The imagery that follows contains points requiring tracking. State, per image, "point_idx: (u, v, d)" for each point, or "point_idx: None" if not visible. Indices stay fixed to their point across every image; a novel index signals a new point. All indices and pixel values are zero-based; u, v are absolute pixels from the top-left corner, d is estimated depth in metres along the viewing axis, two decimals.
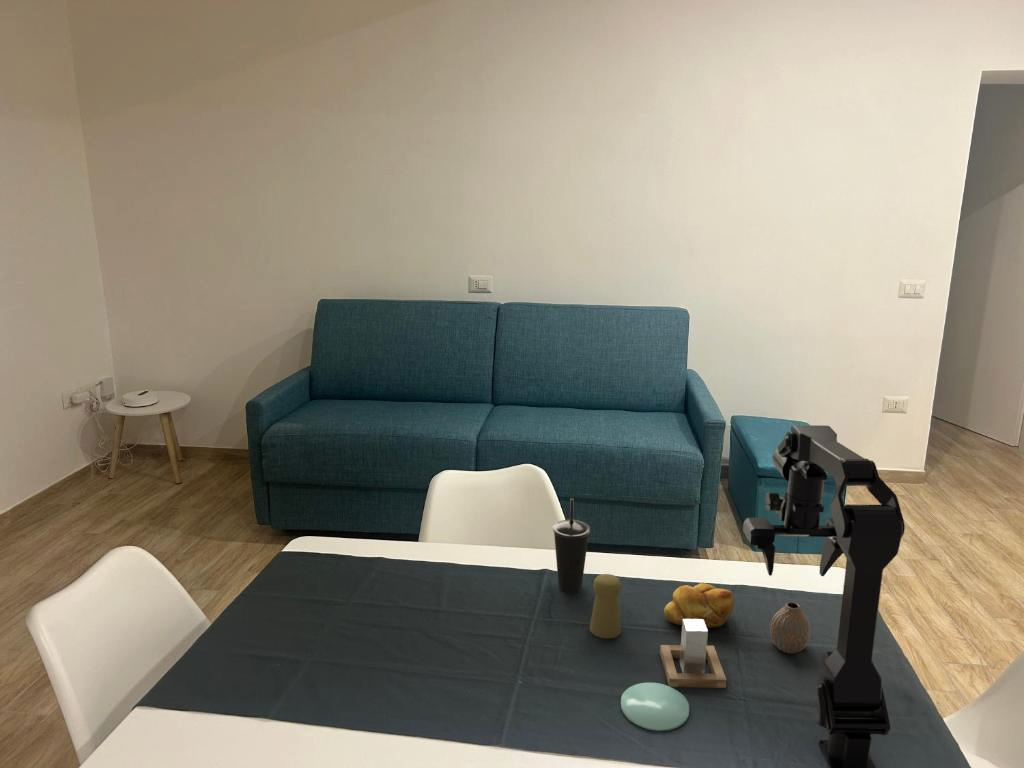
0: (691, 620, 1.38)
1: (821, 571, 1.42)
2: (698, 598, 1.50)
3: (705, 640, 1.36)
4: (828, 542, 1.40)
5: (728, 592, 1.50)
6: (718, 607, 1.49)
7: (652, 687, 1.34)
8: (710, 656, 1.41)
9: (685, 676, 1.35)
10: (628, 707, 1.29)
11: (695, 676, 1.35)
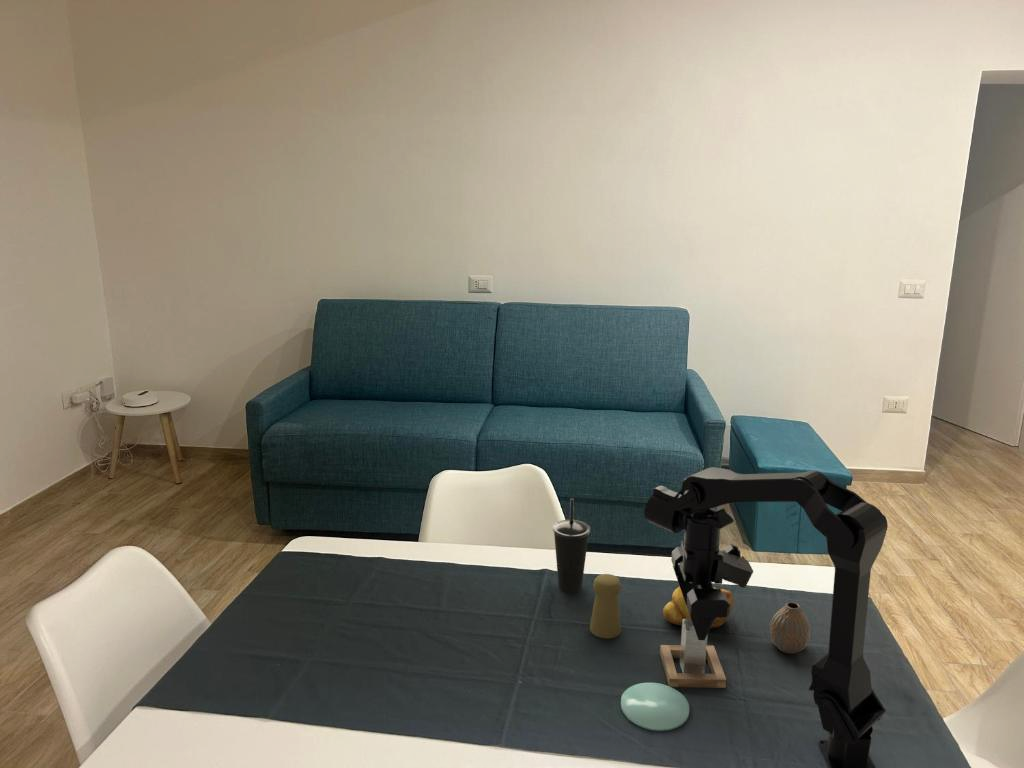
0: (691, 620, 1.38)
1: None
2: None
3: (705, 640, 1.36)
4: None
5: (727, 592, 1.50)
6: None
7: (652, 687, 1.34)
8: (710, 656, 1.41)
9: (685, 676, 1.35)
10: (628, 707, 1.29)
11: (695, 676, 1.35)
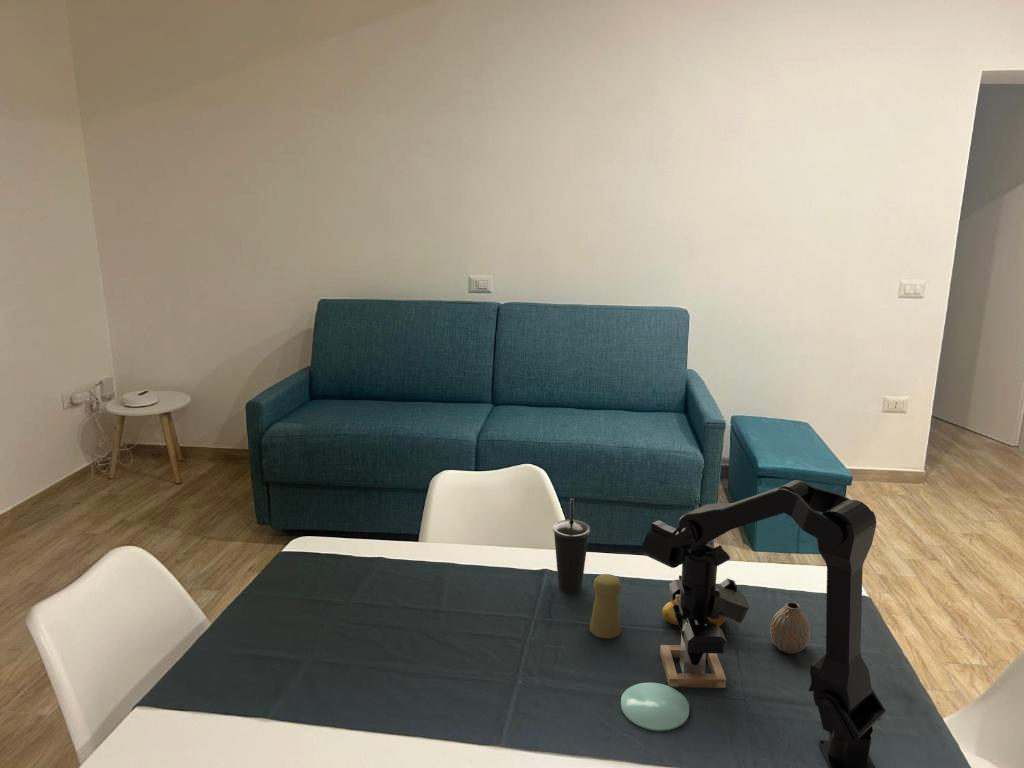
0: None
1: None
2: None
3: None
4: None
5: None
6: None
7: (652, 687, 1.34)
8: (710, 656, 1.41)
9: (685, 676, 1.35)
10: (628, 707, 1.29)
11: (695, 676, 1.35)
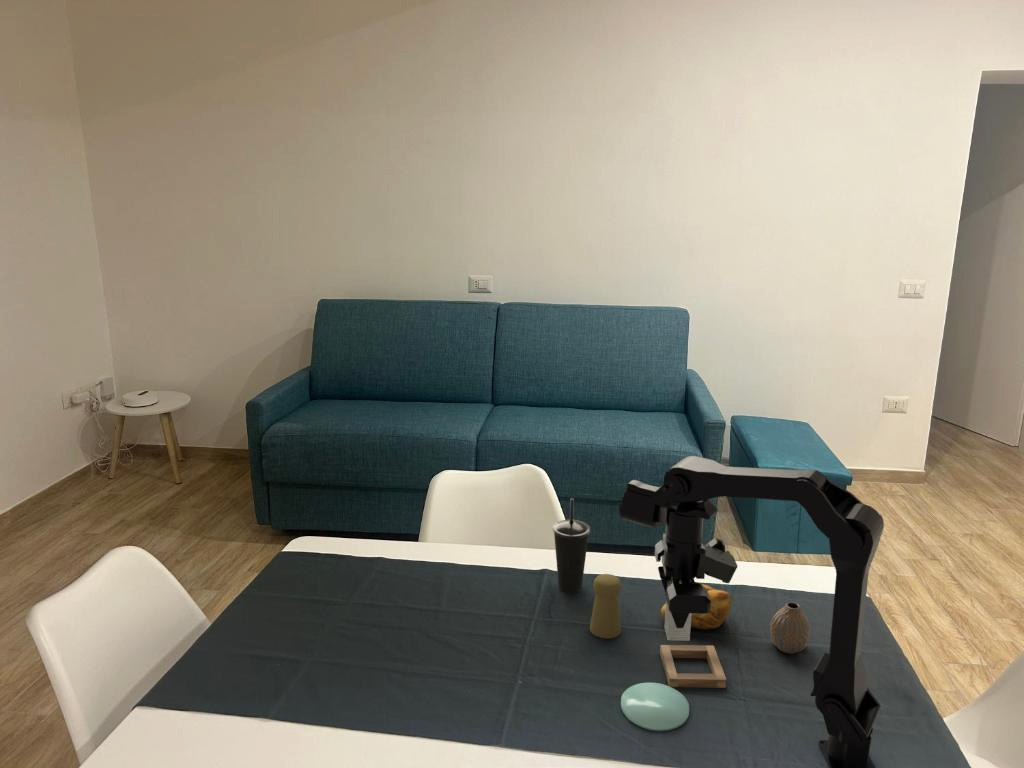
0: None
1: None
2: None
3: None
4: None
5: (725, 594, 1.49)
6: (714, 609, 1.48)
7: (652, 687, 1.34)
8: (710, 656, 1.41)
9: (685, 676, 1.35)
10: (628, 707, 1.29)
11: (695, 676, 1.35)
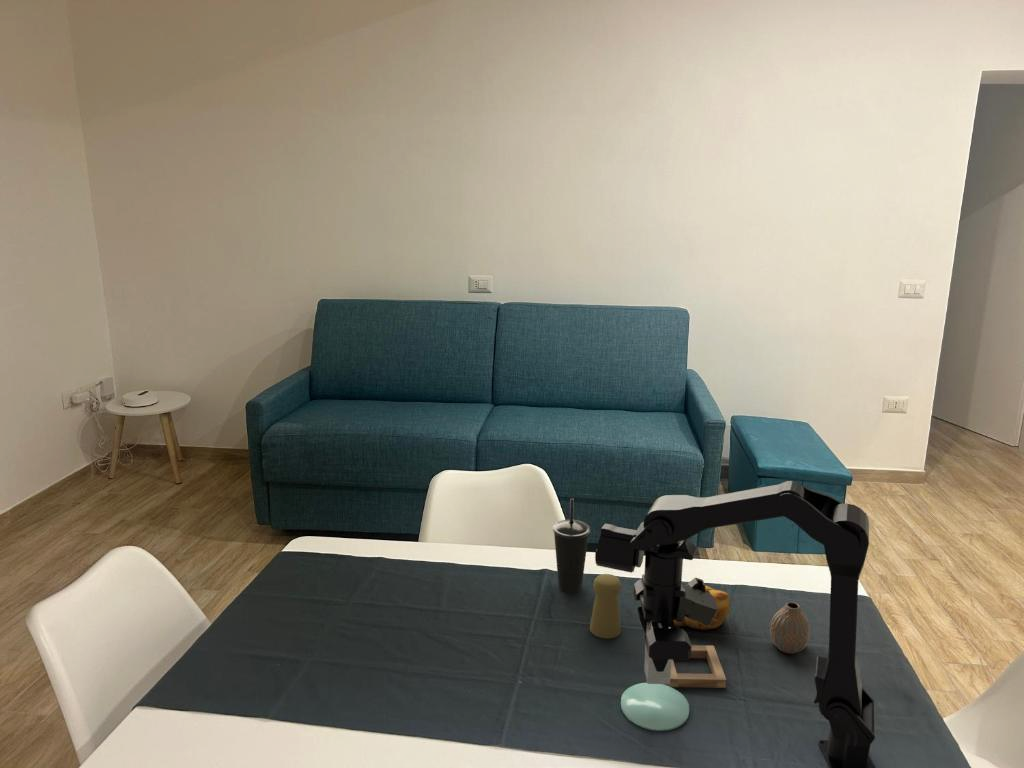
0: None
1: None
2: None
3: None
4: None
5: (724, 594, 1.49)
6: None
7: (652, 687, 1.34)
8: (710, 656, 1.41)
9: (685, 676, 1.35)
10: (628, 707, 1.29)
11: (695, 676, 1.35)
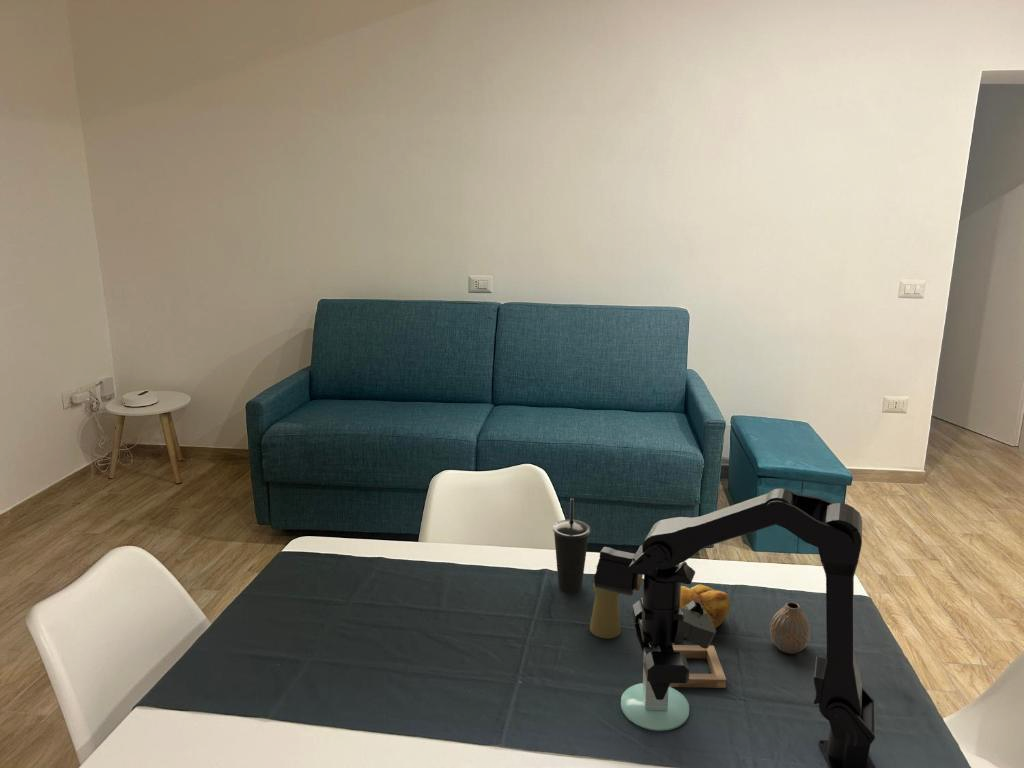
0: (653, 648, 1.29)
1: None
2: (694, 599, 1.50)
3: None
4: None
5: (723, 594, 1.49)
6: (712, 609, 1.48)
7: None
8: (710, 656, 1.41)
9: None
10: (628, 707, 1.29)
11: (695, 676, 1.35)
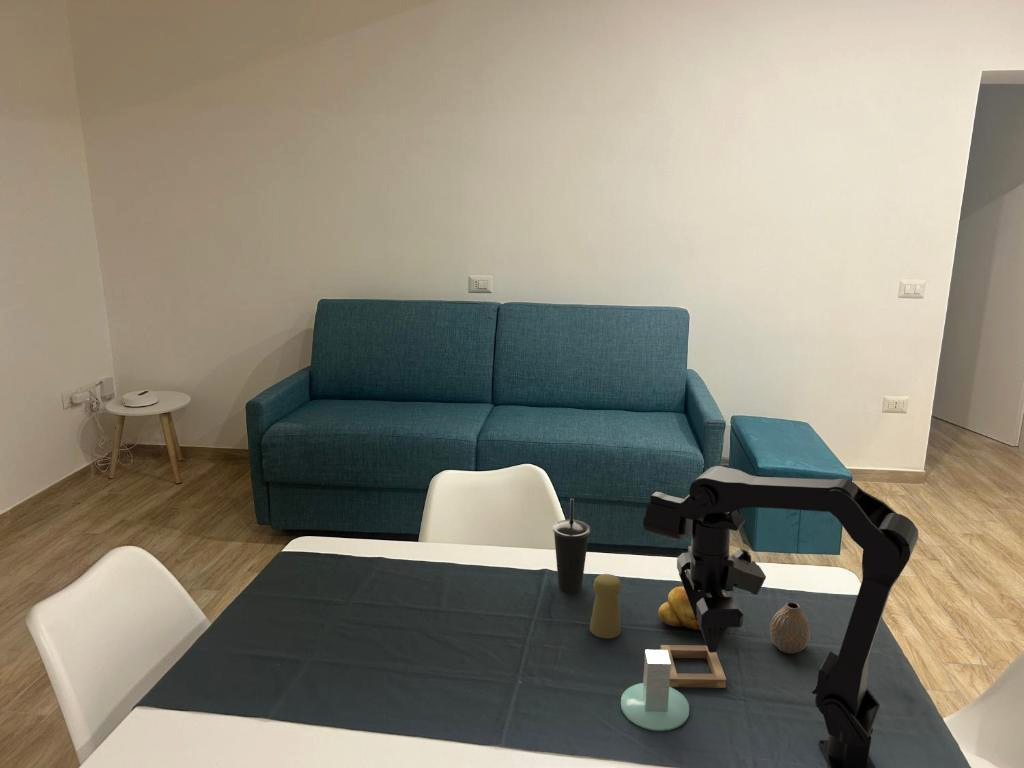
0: (654, 651, 1.29)
1: None
2: None
3: (668, 673, 1.26)
4: None
5: None
6: None
7: None
8: (710, 656, 1.41)
9: (685, 676, 1.35)
10: (628, 707, 1.29)
11: (695, 676, 1.35)
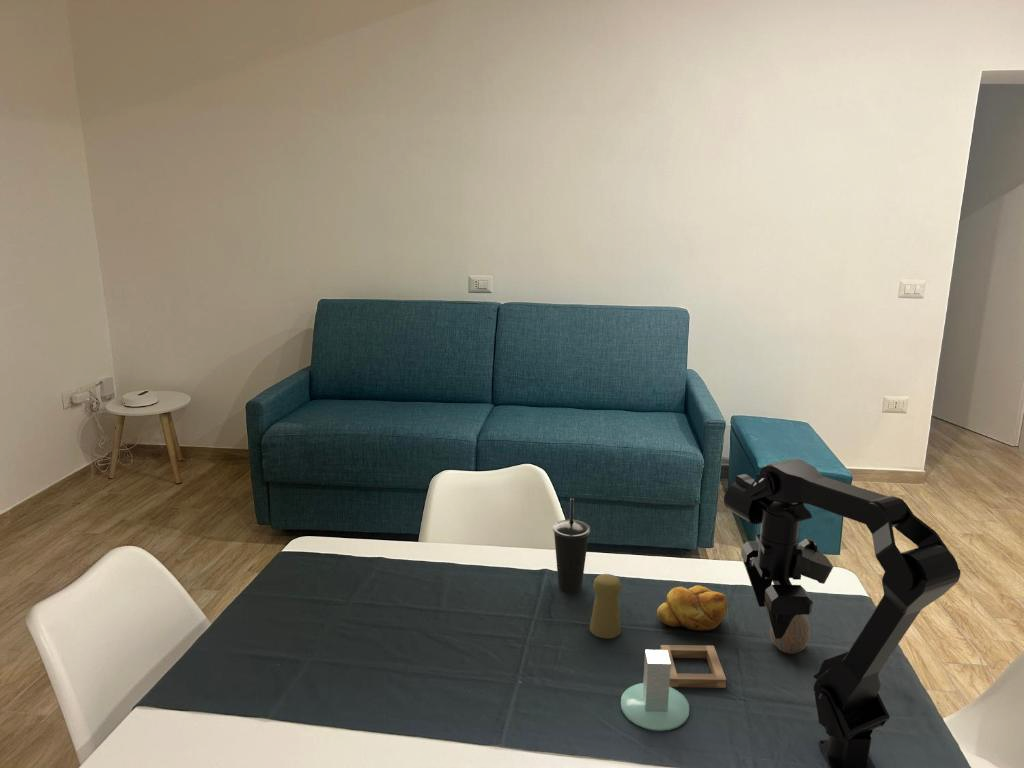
0: (654, 651, 1.29)
1: None
2: (691, 600, 1.50)
3: (668, 673, 1.26)
4: None
5: (721, 595, 1.49)
6: (709, 610, 1.48)
7: None
8: (710, 656, 1.41)
9: (685, 676, 1.35)
10: (628, 707, 1.29)
11: (695, 676, 1.35)
